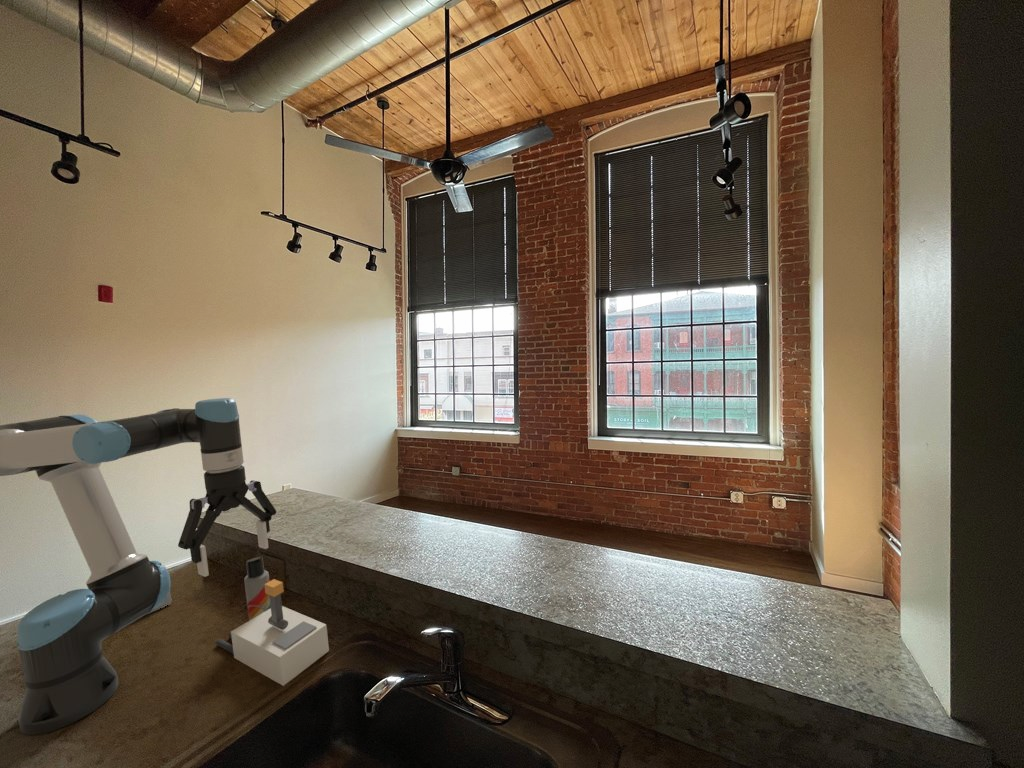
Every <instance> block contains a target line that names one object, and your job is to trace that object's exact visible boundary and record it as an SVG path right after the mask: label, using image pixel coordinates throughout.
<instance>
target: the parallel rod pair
mask: <svg viewBox="0 0 1024 768" xmlns="http://www.w3.org/2000/svg"><path fill="white" fill-rule="evenodd" d="M227 637H228V638H230V639H231V640H232V636H231V631H230V632H229V633H228V636H227ZM215 644H216V645H217V646H218V647H220V648H222V649H223V650H225V651H227V652H228V653H231V654H232V655H234V652H233V644H232V643H229V642H227V641H225V640H224V639H222V638H218V639H217V640H216V642H215Z"/></svg>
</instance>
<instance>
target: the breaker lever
mask: <svg viewBox="0 0 1024 768" xmlns="http://www.w3.org/2000/svg"><path fill="white" fill-rule="evenodd" d="M264 585H265V593H266V594H268V595H269V597H270V606H271V614H272V616H271V617H270V618H269V620H268V623H269V624H271V625H273V626H275V627H277V628H279V629H281V630H284V629H285V628H286V627H287V626H288V621H286V620H284V619H283V611H282V606H283V604H282V596H281V594H282V593H284V591H285V590H284V583H283V581H281V580H278V579H275V578H273V579H272V580H271V579H270V580H269V582H268V583H266V584H264Z"/></svg>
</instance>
